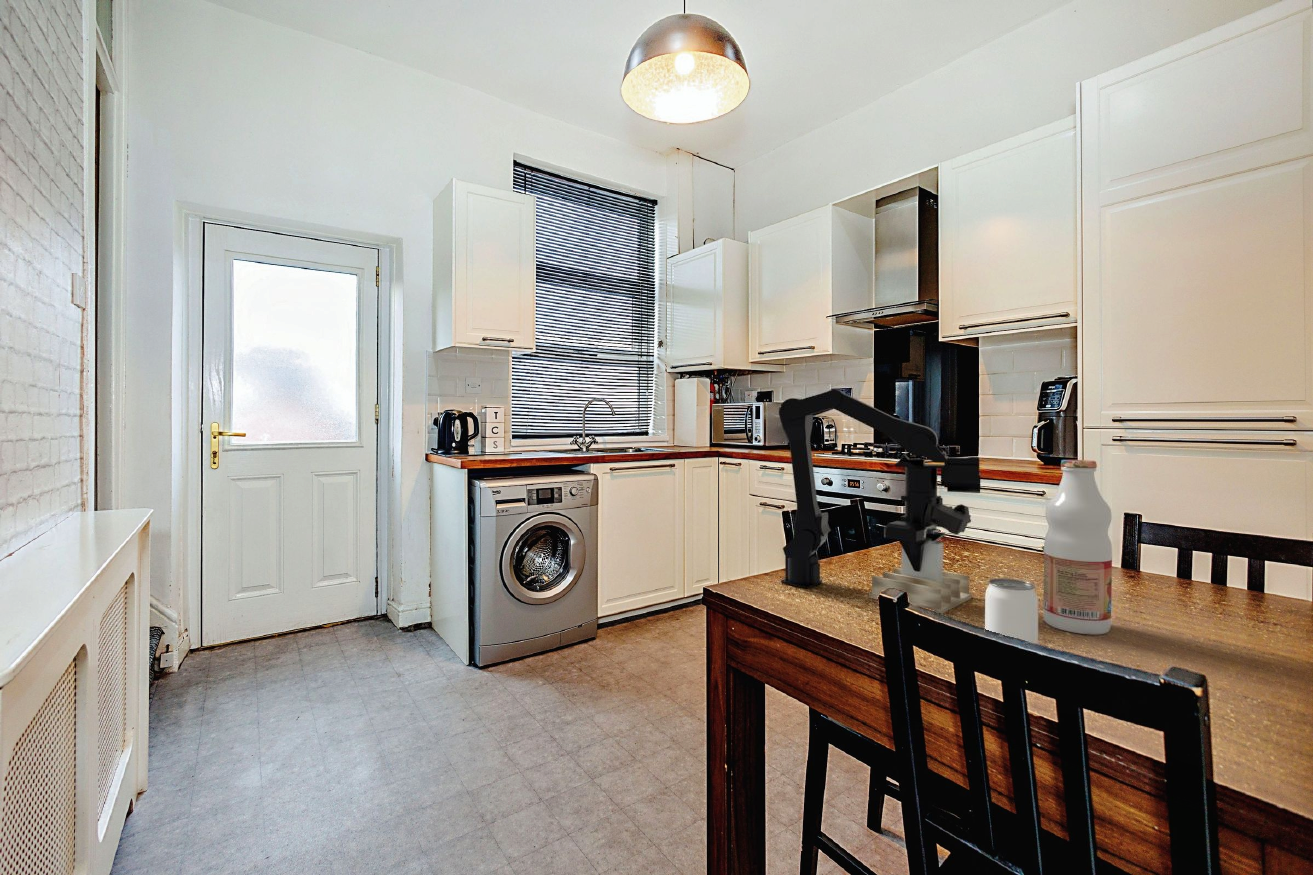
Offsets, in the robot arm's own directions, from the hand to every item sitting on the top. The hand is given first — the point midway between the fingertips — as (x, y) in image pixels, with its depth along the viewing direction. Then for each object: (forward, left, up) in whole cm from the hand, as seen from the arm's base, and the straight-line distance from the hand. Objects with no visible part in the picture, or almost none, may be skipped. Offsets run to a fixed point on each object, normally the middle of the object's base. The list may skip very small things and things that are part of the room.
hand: (920, 569), depth 118 cm
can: (+23, -23, -6) cm, 33 cm away
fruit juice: (+25, +3, -6) cm, 26 cm away
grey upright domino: (0, 0, -4) cm, 4 cm away
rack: (0, 0, -6) cm, 6 cm away
